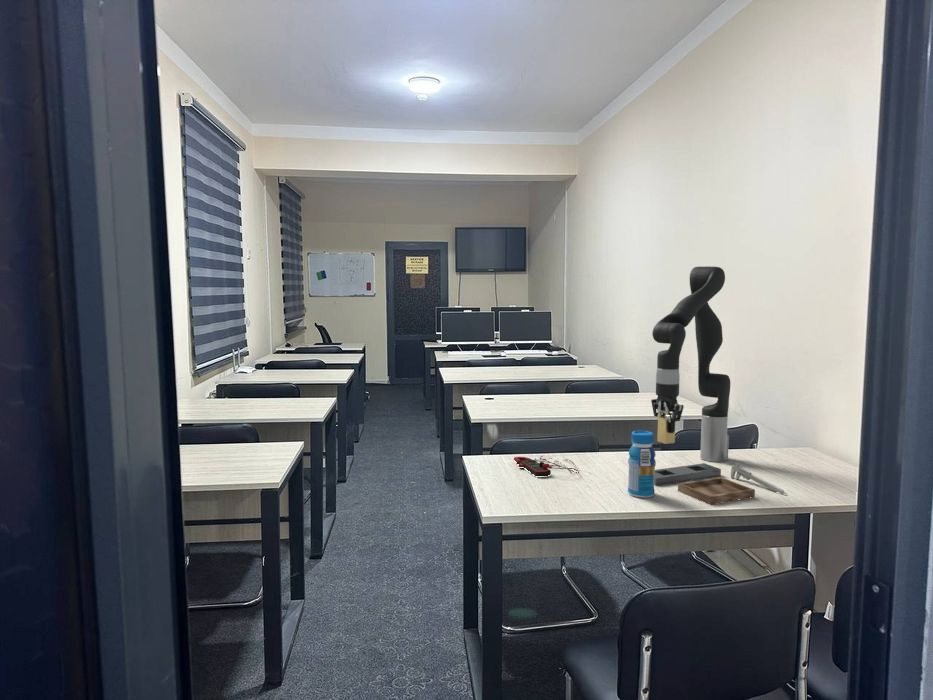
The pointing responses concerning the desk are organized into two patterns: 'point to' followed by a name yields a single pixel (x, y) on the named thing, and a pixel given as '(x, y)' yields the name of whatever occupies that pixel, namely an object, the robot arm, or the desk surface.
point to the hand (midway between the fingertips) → (666, 431)
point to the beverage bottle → (641, 465)
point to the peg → (664, 431)
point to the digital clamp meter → (538, 466)
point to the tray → (715, 490)
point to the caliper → (752, 477)
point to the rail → (685, 473)
